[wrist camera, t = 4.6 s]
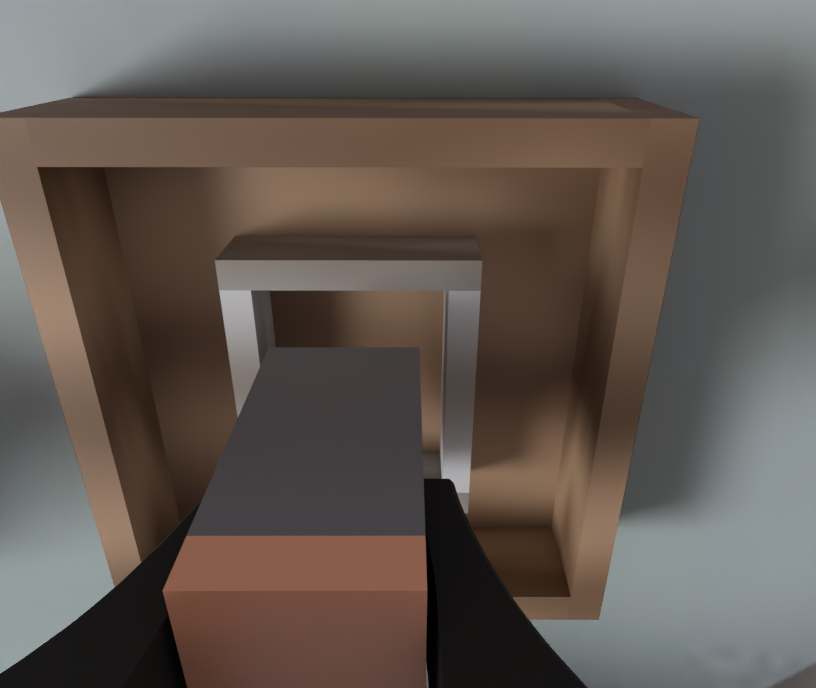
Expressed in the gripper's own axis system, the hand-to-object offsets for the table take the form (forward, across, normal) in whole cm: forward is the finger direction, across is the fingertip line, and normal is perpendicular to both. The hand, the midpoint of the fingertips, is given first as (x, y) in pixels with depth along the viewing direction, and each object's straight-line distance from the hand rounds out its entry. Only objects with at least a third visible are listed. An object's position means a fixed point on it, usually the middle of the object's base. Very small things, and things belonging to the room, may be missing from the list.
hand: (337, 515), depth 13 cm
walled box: (+8, 0, 0) cm, 8 cm away
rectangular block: (+3, 0, 0) cm, 3 cm away
